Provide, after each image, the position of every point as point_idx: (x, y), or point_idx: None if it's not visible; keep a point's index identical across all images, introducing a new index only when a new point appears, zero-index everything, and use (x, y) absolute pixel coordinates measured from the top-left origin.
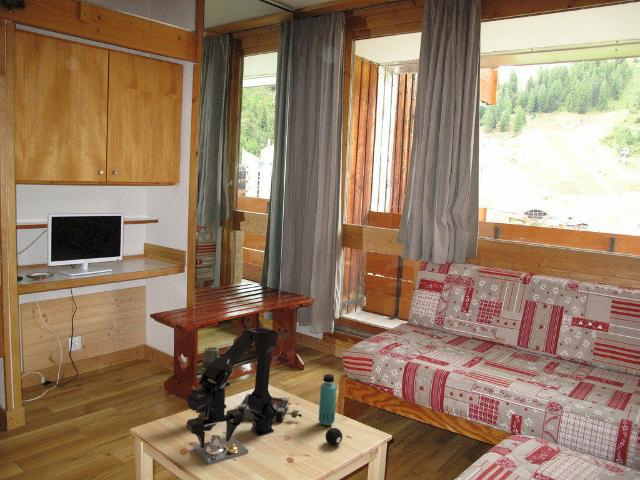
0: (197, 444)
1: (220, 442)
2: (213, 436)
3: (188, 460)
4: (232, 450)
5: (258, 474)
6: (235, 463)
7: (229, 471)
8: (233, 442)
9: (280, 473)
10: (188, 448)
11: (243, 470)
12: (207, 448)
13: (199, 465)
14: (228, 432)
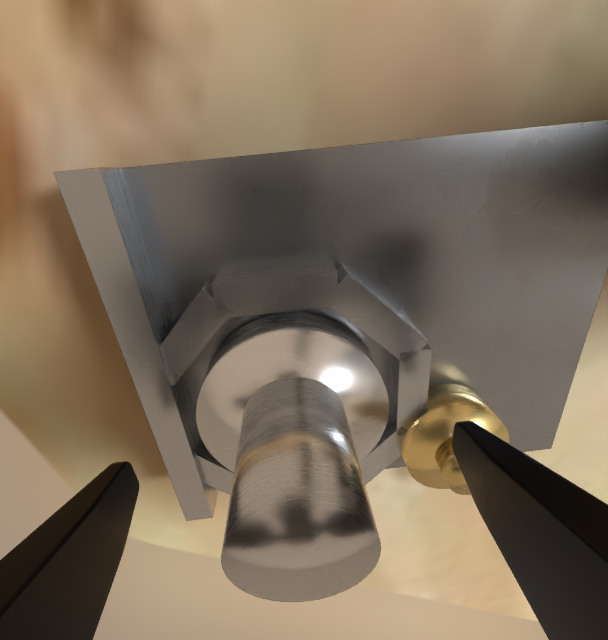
0: (113, 244)
1: (431, 225)
2: (282, 538)
3: (43, 372)
4: (428, 481)
5: (434, 600)
6: (383, 504)
7: None
8: (547, 283)
9: (524, 612)
10: (38, 127)
11: (387, 564)
12: (216, 399)
13: (136, 460)
14: (550, 587)
